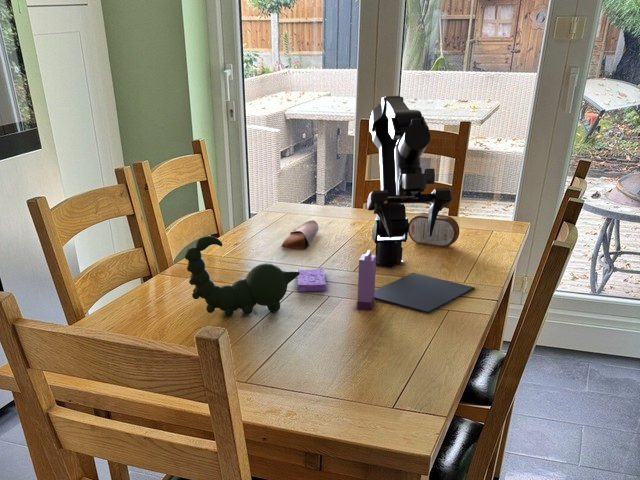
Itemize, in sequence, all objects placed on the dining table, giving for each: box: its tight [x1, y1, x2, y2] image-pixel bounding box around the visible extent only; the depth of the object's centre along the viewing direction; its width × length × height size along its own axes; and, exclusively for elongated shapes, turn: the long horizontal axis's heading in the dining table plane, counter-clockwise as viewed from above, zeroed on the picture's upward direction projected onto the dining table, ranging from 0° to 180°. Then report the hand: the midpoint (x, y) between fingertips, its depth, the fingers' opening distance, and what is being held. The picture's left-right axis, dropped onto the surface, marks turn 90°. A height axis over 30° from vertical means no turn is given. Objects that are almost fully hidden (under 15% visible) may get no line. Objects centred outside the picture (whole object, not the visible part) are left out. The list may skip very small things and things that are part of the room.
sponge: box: [297, 268, 327, 292], centre depth 182 cm, size 7×13×2 cm, turn 179°
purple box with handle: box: [356, 249, 377, 311], centre depth 165 cm, size 5×3×12 cm
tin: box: [408, 212, 460, 248], centre depth 205 cm, size 15×3×8 cm, turn 58°
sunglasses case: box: [280, 220, 319, 251], centre depth 213 cm, size 18×7×7 cm
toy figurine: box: [184, 235, 300, 318], centre depth 162 cm, size 9×19×25 cm
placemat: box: [374, 272, 475, 315], centre depth 174 cm, size 18×21×1 cm
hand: (410, 237), depth 165 cm, fingers open, 9 cm apart
